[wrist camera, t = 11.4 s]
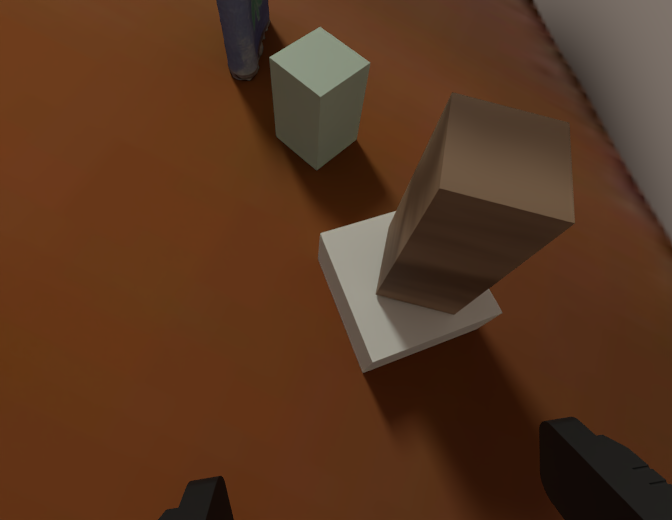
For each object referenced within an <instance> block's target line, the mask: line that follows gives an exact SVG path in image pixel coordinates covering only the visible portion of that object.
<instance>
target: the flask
mask: <svg viewBox="0 0 672 520" xmlns="http://www.w3.org/2000/svg"><path fill="white" fill-rule="evenodd" d="M217 6H218V10H219V15H220V22H221V25H222V31H223V36H224V43H225V48H226V53H227V58H228V67H229V70H230V73H231V74H232V76H233V77H234V78H236V79H238V80H242V79H243V80H244V79H245V80H249V81H250V80H251V79H252V77H253V76H255V74H256V73H257V71H258V69H259V65H258V61H259V58H260V56H261V55H262V52H263V46H262V45H263V44H262V40H263V39H266V38H265V36H264V33H265V32H266V31H267V30H268V26H269V23H270V19H269V7H268V0H217ZM236 75H237V76H238V77H240V78H241V79H240V78H238V77H237V76H236Z"/></svg>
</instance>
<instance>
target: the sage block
mask: <svg viewBox="0 0 672 520" xmlns="http://www.w3.org/2000/svg"><path fill="white" fill-rule="evenodd" d="M269 61H270V72H271V84H272V95H273V106H274V118H275V129H276V137H277V138H278V139H280V140H281V141H282V142H283V143H284V144H286V145H287V146H288V147H289V148H290V149H292V150H293V151H294V152H295V153H296V154H297V155H299V156H300V157H301V158H302V159H303V160H305V161H306V162H307V163H308V164H309V165H310V166H312V167H313V168H314V169H315V170H316V171H317V170H318V169H319V168H321V167H322V166H323V165H325V164H326V163H327V162H328V161H330V160H331V159H332V158H334V157H335V156H336V155H337V154H339V153H340V152H341V151H343V150H344V149H345V148H346V147H348V146H349V145H350V144H352V143H353V142H354V141H355V140H357V134H358V128H359V123H360V117H361V112H362V106H363V101H364V95H365V89H366V84H367V78H368V73H369V67H370V62H368V61H367V60H366V59H364V58H363V57H362V56H360V55H359V54H357V53H356V52H355V51H353V50H352V49H350V48H349V47H348V46H346V45H345V44H343V43H342V42H341V41H339V40H338V39H336V38H335V37H334V36H332V35H331V34H329V33H328V32H327V31H325V30H324V29H322V28H321V27H319V28H317V29H316V30H314V31H312V32H311V33H309V34H307V35H306V36H304V37H302V38H301V39H299V40H297V41H296V42H294V43H292V44H291V45H289V46H287V47H286V48H284V49H282V50H281V51H279V52H277V53H275V54H274V55H272V56H270V57H269Z"/></svg>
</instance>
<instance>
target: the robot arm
mask: <svg viewBox="0 0 672 520" xmlns="http://www.w3.org/2000/svg"><path fill="white" fill-rule="evenodd" d="M539 438H540V475H541V480H542V483H543V486H544V489H545V491H546V493H547V495H548V497H549V499H550V500H551V502H552V503H553V505H554V506H555V507H556V509H557V510H558V511H559V513H560V514H561V515H562V517H563V518H564V519H565V520H672V485H671V484H667V482H666V480H665V479H664V478H663V477H662V476H660V475H659V474H658V473H657V472H656V471H654V470H653V469H650V468H649V466H648V465H647V464H646V463H645V462H644V461H643V460H641V459H640V458H639V457H638V456H637V455H636V454H634V453H633V452H632V451H631V450H630V449H629V448H627V447H625V446H623V445H621V444H619V443H617V442H616V441H614V440H612V439H610V438H608V437H606V436H604V435H598V436H596V435H595V434H593V433H592V432H591V431H590V430H589V429H588V428H587V427H586V426H585V425H583V424H582V423H581V422H580V421H579V420H578V419H576V418H574V417H567V418H561V419H555V420H549V421H543V422H542V423H541V424H540V427H539ZM158 520H234V519H233V515H232V510H231V506H230V502H229V498H228V494H227V489H226V485H225V481H224V479H223V477H222V476H217V477H211V478H206V479H200V480H194V481H190V482H189V483H188V485H187V487H186V489H185V492H184V494H183V497H182V500H181V502H180V505H179V508H174V509H168V510H166V511H165V512H164V513H163V514H162V516H161V517H160V518H159V519H158Z"/></svg>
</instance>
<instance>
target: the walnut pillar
mask: <svg viewBox="0 0 672 520" xmlns="http://www.w3.org/2000/svg"><path fill="white" fill-rule="evenodd" d="M573 224H575V217H574V199H573V181H572V163H571V145H570V127H569V123H568V122H564V121H560V120H557V119H553V118H549V117H545V116H541V115H537V114H534V113H530V112H526V111H522V110H518V109H514V108H511V107H507V106H503V105H499V104H495V103H491V102H487V101H484V100H480V99H476V98H472V97H468V96H464V95H461V94H457V93H453V92H452V94H451V96H450V98H449V100H448V102H447V105H446V107H445V109H444V111H443V113H442V115H441V117H440V119H439V121H438V124H437V126H436V128H435V130H434V132H433V134H432V136H431V138H430V140H429V143H428V145H427V147H426V149H425V151H424V153H423V155H422V157H421V160H420V162H419V164H418V166H417V168H416V170H415V172H414V174H413V176H412V179H411V181H410V183H409V185H408V187H407V189H406V191H405V193H404V195H403V198H402V200H401V202H400V204H399V206H398V208H397V210H396V212H395V214H394V217H393V219H392V221H391V223H390V225H389V228H388V233H387V238H386V243H385V248H384V254H383V259H382V264H381V269H380V274H379V279H378V284H377V289H376V294H375V295H379V296H383V297H387V298H391V299H395V300H399V301H402V302H406V303H410V304H414V305H418V306H422V307H426V308H430V309H433V310H437V311H441V312H445V313H449V314H453V315H455V314H456V313H457V312H459V311H460V310H461V309H463V308H464V307H465V306H467V305H468V304H469V303H470V302H472V301H473V300H474V299H476V298H477V297H478V296H480V295H481V294H482V293H484V292H485V291H486V290H488V289H489V288H490V287H492V286H493V285H494V284H496V283H497V282H498V281H499V280H501V279H502V278H503V277H505V276H506V275H507V274H509V273H510V272H511V271H513V270H514V269H515V268H517V267H518V266H519V265H521V264H522V263H523V262H525V261H526V260H527V259H528V258H530V257H531V256H532V255H534V254H535V253H536V252H538V251H539V250H540V249H542V248H543V247H544V246H546V245H547V244H548V243H550V242H551V241H552V240H554V239H555V238H556V237H557V236H559V235H560V234H561V233H563V232H564V231H565V230H567V229H568V228H569V227H571V226H572V225H573Z"/></svg>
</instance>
